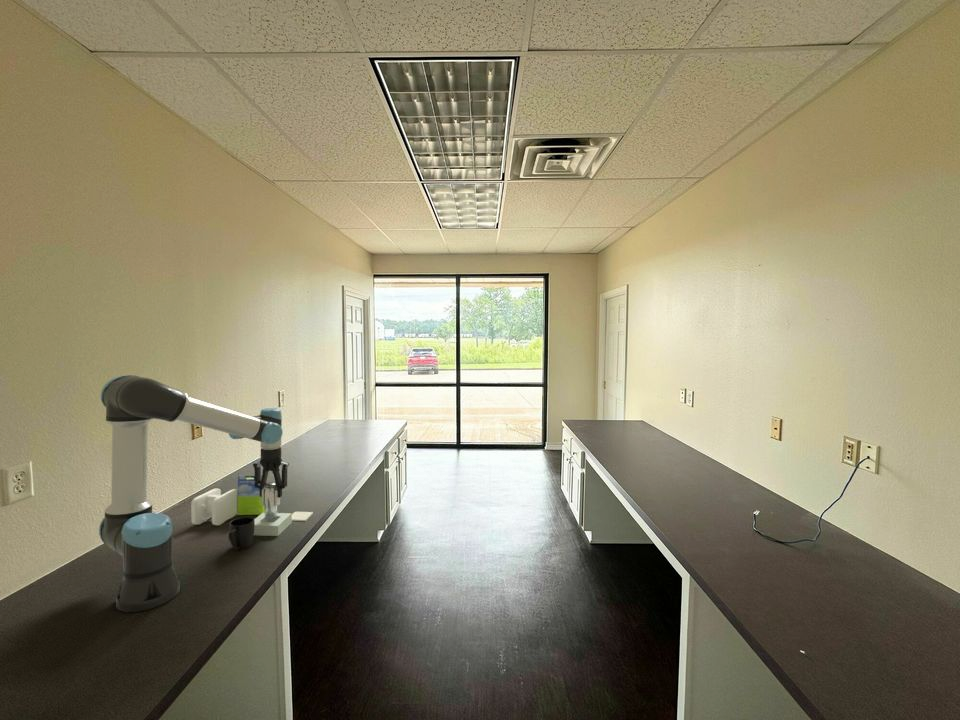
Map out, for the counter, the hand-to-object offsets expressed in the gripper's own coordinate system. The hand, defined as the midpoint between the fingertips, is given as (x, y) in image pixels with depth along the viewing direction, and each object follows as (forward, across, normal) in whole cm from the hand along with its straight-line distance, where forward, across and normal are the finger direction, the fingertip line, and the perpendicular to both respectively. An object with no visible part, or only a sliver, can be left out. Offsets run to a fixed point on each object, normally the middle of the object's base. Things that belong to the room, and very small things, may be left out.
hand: (270, 504), depth 177 cm
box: (+10, +15, -14) cm, 23 cm away
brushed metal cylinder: (+5, 0, 0) cm, 5 cm away
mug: (+10, +3, +17) cm, 20 cm away
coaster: (+10, -7, -12) cm, 17 cm away
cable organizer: (+10, +26, -6) cm, 29 cm away
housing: (+10, 0, 0) cm, 10 cm away
